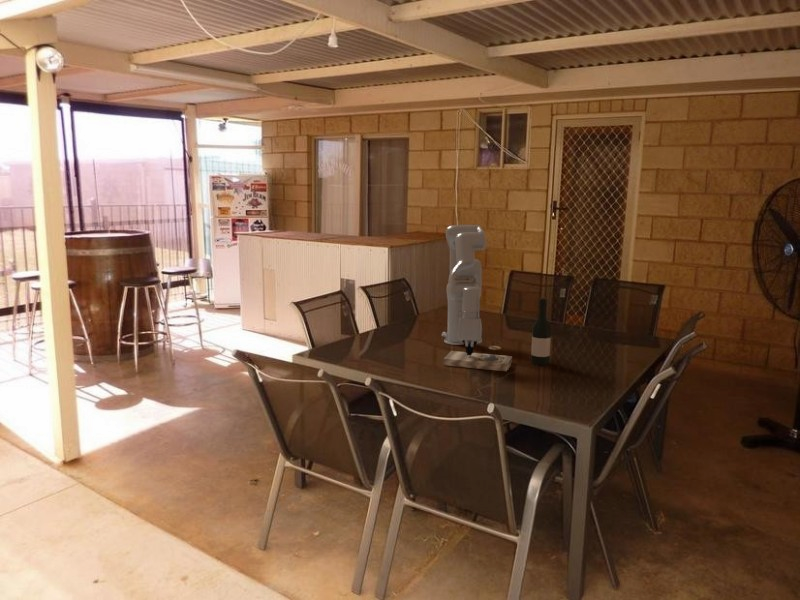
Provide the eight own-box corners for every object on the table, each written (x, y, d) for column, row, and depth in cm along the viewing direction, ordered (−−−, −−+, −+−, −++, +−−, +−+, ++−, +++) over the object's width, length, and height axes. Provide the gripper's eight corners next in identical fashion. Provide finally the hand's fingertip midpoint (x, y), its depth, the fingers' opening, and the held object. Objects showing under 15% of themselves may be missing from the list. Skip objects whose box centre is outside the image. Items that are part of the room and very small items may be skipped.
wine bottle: (536, 366, 267) (539, 299, 262) (527, 361, 275) (530, 296, 270) (553, 365, 269) (556, 298, 264) (543, 360, 277) (547, 295, 272)
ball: (492, 352, 266) (499, 360, 266) (491, 351, 271) (498, 360, 271) (483, 359, 266) (491, 368, 266) (482, 358, 271) (490, 367, 271)
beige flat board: (443, 365, 269) (443, 358, 268) (451, 357, 282) (451, 350, 281) (507, 371, 260) (507, 364, 259) (511, 362, 273) (512, 356, 272)
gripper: (452, 315, 267) (451, 355, 270) (485, 317, 262) (484, 358, 266) (456, 311, 274) (455, 351, 277) (489, 314, 269) (487, 354, 273)
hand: (469, 354), depth 272 cm, fingers closed
